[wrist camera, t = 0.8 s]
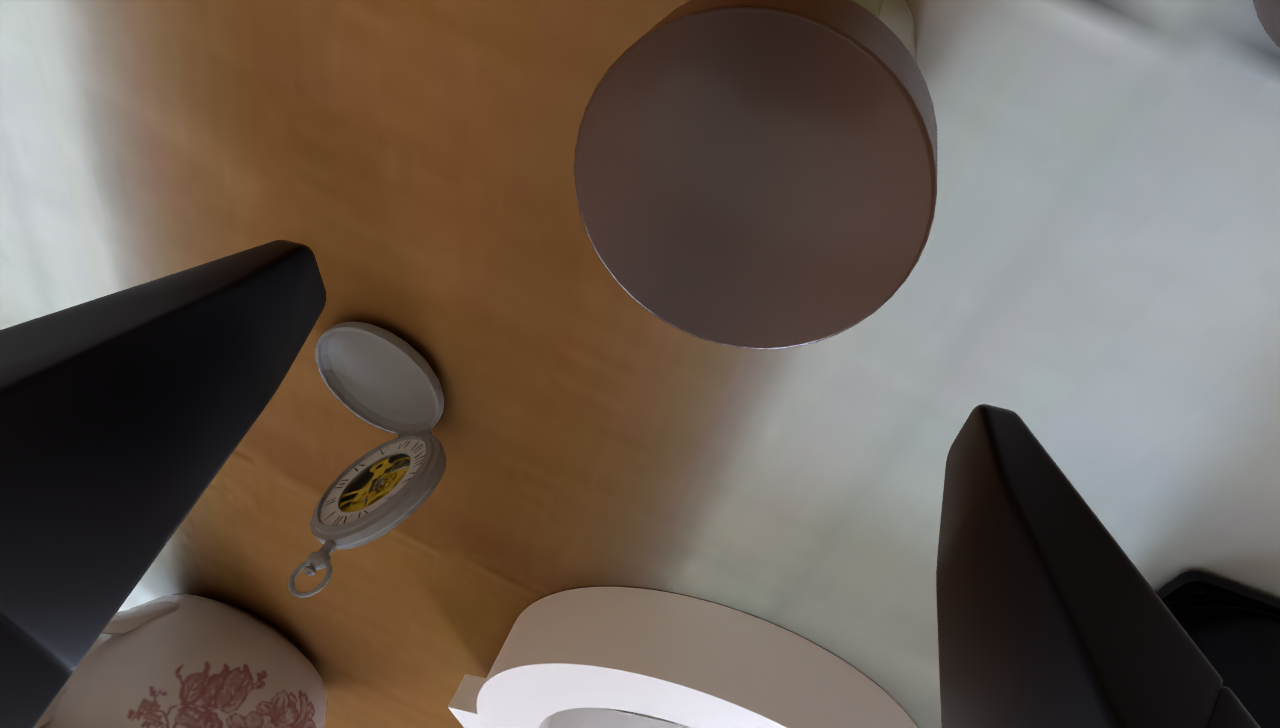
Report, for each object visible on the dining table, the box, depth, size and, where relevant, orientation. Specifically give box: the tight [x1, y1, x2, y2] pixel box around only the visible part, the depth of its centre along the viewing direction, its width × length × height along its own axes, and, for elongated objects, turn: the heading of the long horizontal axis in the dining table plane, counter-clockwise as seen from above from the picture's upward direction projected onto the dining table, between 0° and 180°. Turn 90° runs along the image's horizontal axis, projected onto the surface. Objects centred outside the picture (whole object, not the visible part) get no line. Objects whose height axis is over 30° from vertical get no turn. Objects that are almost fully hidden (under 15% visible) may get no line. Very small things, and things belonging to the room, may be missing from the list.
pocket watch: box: [288, 322, 446, 598], centre depth 30 cm, size 8×8×10 cm
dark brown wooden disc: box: [574, 0, 937, 349], centre depth 13 cm, size 6×6×2 cm
